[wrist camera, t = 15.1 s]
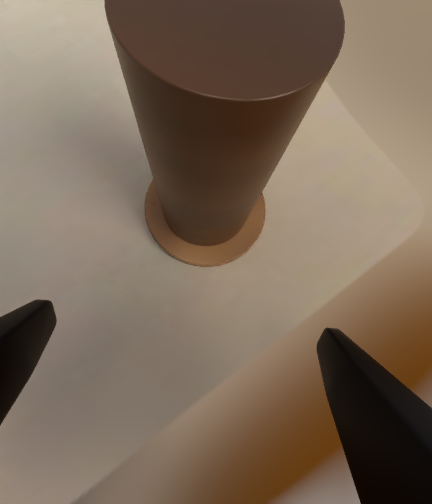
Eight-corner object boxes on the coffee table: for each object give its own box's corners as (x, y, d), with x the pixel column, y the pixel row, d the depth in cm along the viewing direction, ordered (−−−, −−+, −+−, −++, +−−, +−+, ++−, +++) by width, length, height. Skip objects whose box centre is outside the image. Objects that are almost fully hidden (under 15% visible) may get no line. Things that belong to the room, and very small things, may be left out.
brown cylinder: (239, 255, 16) (335, 128, 5) (152, 235, 15) (64, 59, 5) (253, 179, 17) (353, -44, 7) (174, 159, 17) (144, -101, 6)
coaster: (285, 206, 17) (288, 202, 17) (212, 292, 16) (212, 291, 15) (200, 138, 18) (200, 132, 18) (120, 212, 16) (117, 208, 16)
